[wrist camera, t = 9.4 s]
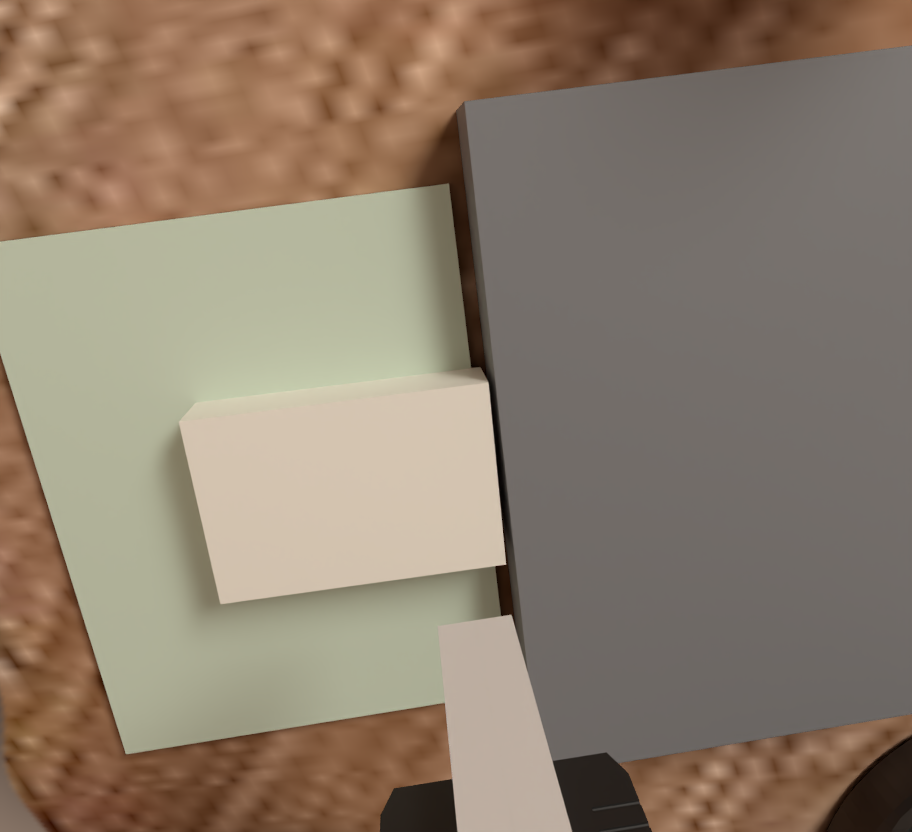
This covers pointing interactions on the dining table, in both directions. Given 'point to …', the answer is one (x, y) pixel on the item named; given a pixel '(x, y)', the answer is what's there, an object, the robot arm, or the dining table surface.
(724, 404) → the plate
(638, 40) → the dining table surface
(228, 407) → the cream flat block
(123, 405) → the sage mat
